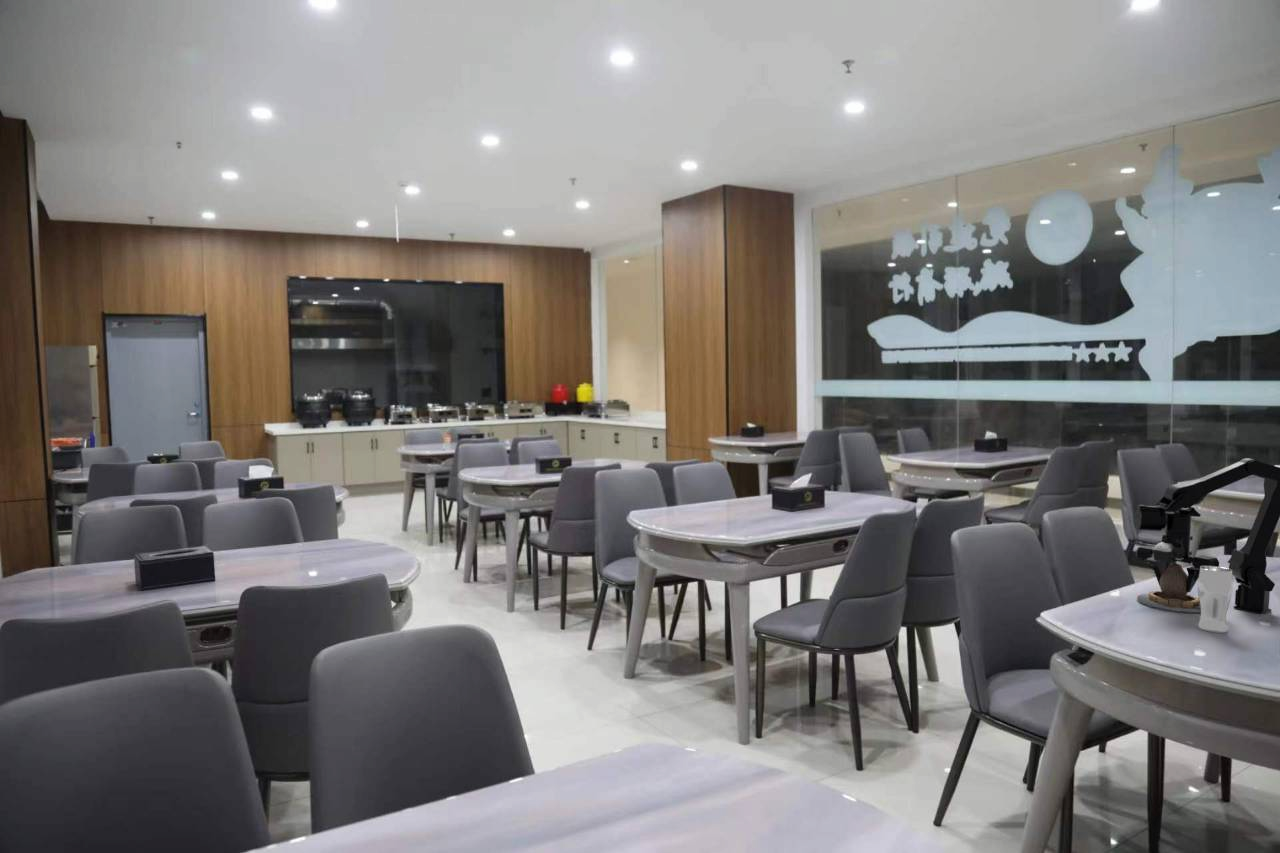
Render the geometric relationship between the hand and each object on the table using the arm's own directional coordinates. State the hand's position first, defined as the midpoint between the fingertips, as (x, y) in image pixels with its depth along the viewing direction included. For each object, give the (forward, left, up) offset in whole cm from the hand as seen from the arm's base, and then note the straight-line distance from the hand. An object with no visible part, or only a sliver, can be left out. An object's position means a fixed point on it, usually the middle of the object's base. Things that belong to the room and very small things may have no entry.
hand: (1174, 589), depth 231 cm
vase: (0, 0, -2) cm, 2 cm away
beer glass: (-17, +16, -5) cm, 24 cm away
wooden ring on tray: (0, 0, -4) cm, 4 cm away
